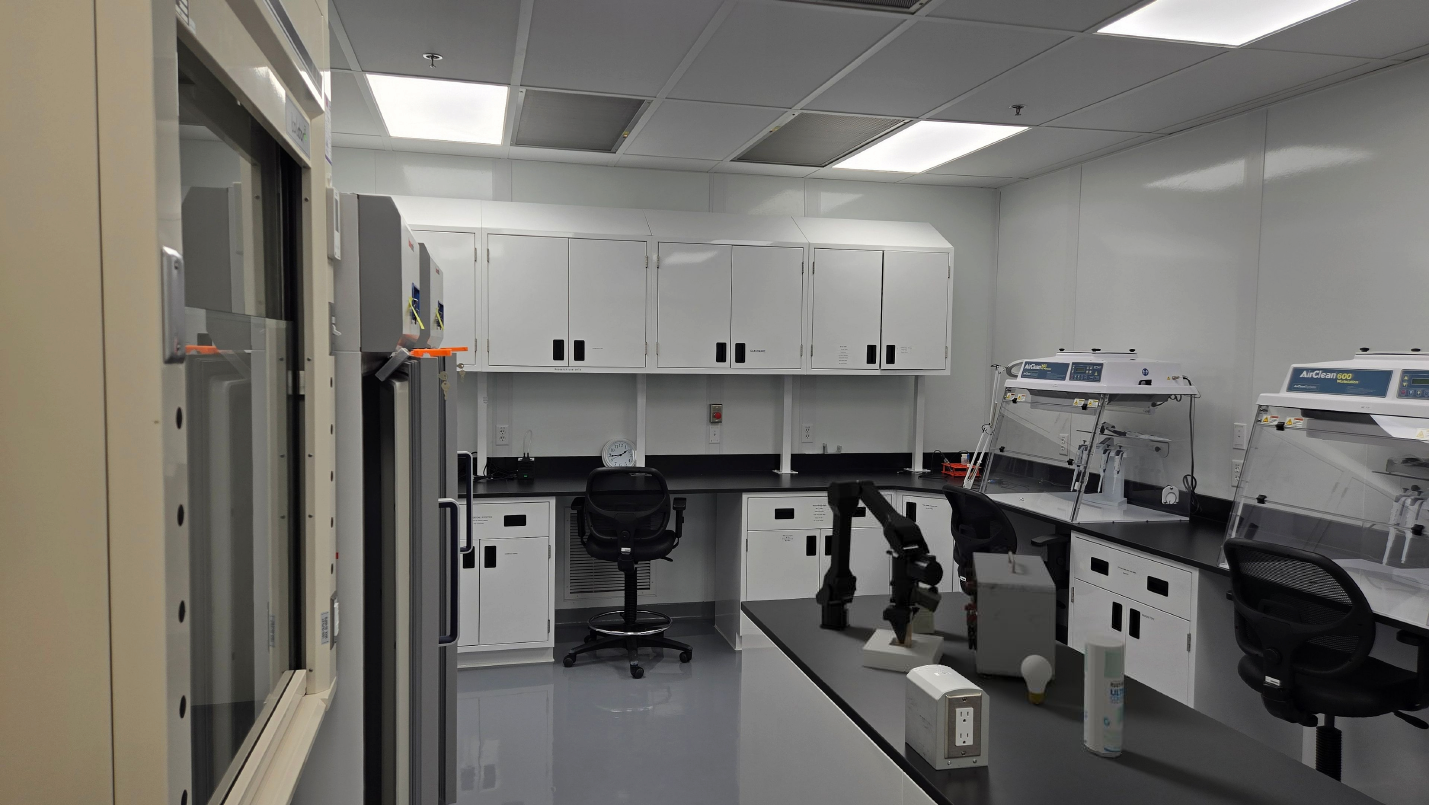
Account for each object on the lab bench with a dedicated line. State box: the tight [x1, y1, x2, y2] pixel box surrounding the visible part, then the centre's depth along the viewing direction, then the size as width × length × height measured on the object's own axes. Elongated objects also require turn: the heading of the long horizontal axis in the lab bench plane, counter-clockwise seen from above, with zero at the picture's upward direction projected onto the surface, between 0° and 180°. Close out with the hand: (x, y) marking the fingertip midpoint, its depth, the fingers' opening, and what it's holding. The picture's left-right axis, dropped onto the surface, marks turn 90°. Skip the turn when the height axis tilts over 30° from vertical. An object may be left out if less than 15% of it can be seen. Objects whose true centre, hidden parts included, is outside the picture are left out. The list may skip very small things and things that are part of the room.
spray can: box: [1083, 634, 1126, 753], centre depth 147 cm, size 6×6×20 cm
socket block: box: [861, 628, 944, 673], centre depth 194 cm, size 16×16×4 cm
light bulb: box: [1021, 655, 1052, 704], centre depth 168 cm, size 6×6×10 cm
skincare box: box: [912, 583, 935, 634], centre depth 215 cm, size 6×4×12 cm
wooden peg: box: [896, 621, 912, 648], centre depth 194 cm, size 4×4×10 cm
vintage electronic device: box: [964, 551, 1057, 683], centre depth 194 cm, size 32×18×25 cm, turn 164°
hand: (903, 641), depth 194 cm, fingers closed on wooden peg, 4 cm apart
